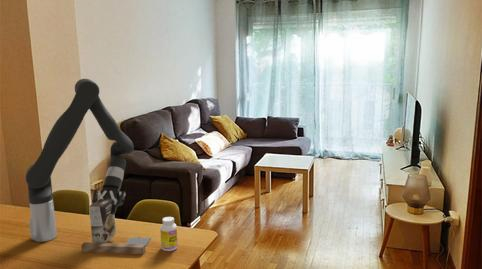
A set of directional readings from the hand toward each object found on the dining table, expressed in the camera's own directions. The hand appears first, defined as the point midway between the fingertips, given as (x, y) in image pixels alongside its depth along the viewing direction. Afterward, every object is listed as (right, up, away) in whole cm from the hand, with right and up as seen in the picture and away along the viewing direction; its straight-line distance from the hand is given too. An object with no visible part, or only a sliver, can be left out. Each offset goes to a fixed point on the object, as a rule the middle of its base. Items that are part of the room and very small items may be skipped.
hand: (104, 213), depth 168 cm
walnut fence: (+6, -14, -7) cm, 17 cm away
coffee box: (0, -11, +1) cm, 11 cm away
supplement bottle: (+29, -14, -4) cm, 32 cm away
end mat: (+14, -13, -1) cm, 19 cm away
